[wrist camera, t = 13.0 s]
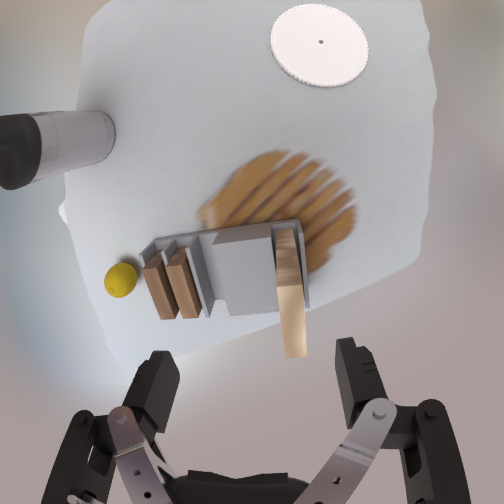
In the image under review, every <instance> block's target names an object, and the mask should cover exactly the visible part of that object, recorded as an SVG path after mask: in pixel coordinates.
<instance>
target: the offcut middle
mask: <svg viewBox="0 0 504 504" xmlns="http://www.w3.org/2000/svg"><path fill="white" fill-rule="evenodd" d="M186 247H187V246H183V247H180V248H179V249H178V250H177V252H176V253H175V254H174V255H173V257H172V258H171V259H170V261H169V262H168V264H167V265H166V266H165V268H166V271H167V275H168V278H169V281H170V283H171V286H172V289H173V292H174V295H175V298H176V301H177V304H178V306H179V309H180V312H181V314H182V317H183V319H187V318H198V317H199V314H200V312H201V309H202V304H201V300H200V297H199V294H198V291H197V287H196V284H195V281H194V277H193V274H192V271H191V267H190V264H189V260H188V257H187V253H186V250H185V248H186Z"/></svg>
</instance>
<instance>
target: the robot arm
mask: <svg viewBox="0 0 504 504" xmlns="http://www.w3.org/2000/svg"><path fill="white" fill-rule="evenodd" d="M114 140H115V130H114V125H113V123H112V121H111V119H110V118H109V117H108V115H106V114H105V113H103V112H98V111H55V112H38V113H26V114H15V115H4V116H0V186H1V187H2V188H4V189H7V190H15V189H18V188H20V187H23V186H25V185H28V184H31V183H33V182H36V181H39V180H42V179H44V178H47V177H50V176H54V175H57V174H60V173H63V172H66V171H70V170H73V169H76V168H80V167H84V166H87V165H91V164H95V163H98V162H100V161H102V160H103V159H105V158H106V157H107V156H108V154H109V153H110V151H111V149H112V147H113V144H114ZM335 370H336V375H337V380H338V384H339V388H340V394H341V399H342V404H343V409H344V414H345V419H346V424H347V429H351V431H350V432H349V434H348V436H347V437H346V438H345V440H344V441H343V443H342V444H341V445H339V446H338V447H337V449H336V450H335V451H334V453H333V454H332V456H331V457H330V458H329V460H328V461H327V463H326V464H325V465H324V466H323V468H322V469H321V470H320V472H319V473H318V474H317V476H316V477H315V478H314V480H313V481H312V482H311V483H310V484H309V483H307V482H305V481H302V480H299V479H295V478H290V477H288V473H272V474H259V475H255V476H250V477H245V478H239V479H233V478H229V477H225V476H222V475H218V474H215V473H212V472H203V471H193V470H188V475H185V476H180V477H178V476H177V474H176V473H175V472H174V471H173V469H172V468H171V467H170V465H169V463H168V461H167V460H166V458H165V456H164V454H163V452H162V450H161V448H160V446H159V444H158V442H157V440H156V438H155V434H156V432H158V433H164V432H165V428H166V425H167V422H168V418H169V415H170V411H171V408H172V405H173V401H174V397H175V395H176V391H177V388H178V384H179V381H180V374H179V371H178V368H177V366H176V364H175V362H174V360H173V358H172V356H171V354H170V352H169V351H153V352H152V354H151V357H150V359H149V360H145V361H144V362H143V363H142V364H141V365H140V366H139V368H138V370H137V372H136V374H135V377H134V379H133V383H132V384H131V386H130V388H129V390H128V392H127V395H126V397H125V399H124V402H123V404H122V406H119V407H116V408H114V409H113V410H112V411H111V412H110V413H109V415H102V416H94V415H93V414H92V413H91V412H90V411H88V410H81V411H79V412H77V413H76V414H75V415H74V416H73V418H72V420H71V423H70V425H69V427H68V430H67V433H66V435H65V437H64V440H63V442H62V444H61V447H60V450H59V452H58V455H57V457H56V460H55V463H54V466H53V468H52V471H51V474H50V477H49V479H48V483H47V485H46V489H45V492H44V495H43V498H42V502H41V504H106V503H107V499H108V495H109V491H110V487H111V483H112V479H113V474H114V471H115V467H116V464H117V467H118V470H119V472H120V475H121V477H122V480H123V482H124V485H125V487H126V489H127V491H128V494H129V496H130V499H131V501H132V503H133V504H345V503H346V502H347V500H348V499H349V498H350V496H351V495H352V493H353V492H354V490H355V489H356V487H357V486H358V484H359V483H360V481H361V480H362V478H363V476H364V475H365V473H366V472H367V470H368V469H369V467H370V465H371V463H372V462H373V460H374V458H375V456H376V454H377V453H378V451H379V449H399V450H400V455H401V461H402V467H403V473H404V480H405V486H406V494H407V502H408V504H471V500H470V495H469V490H468V485H467V480H466V476H465V472H464V468H463V463H462V460H461V456H460V453H459V449H458V445H457V442H456V439H455V436H454V432H453V429H452V426H451V423H450V420H449V417H448V414H447V411H446V409H445V406H444V405H443V404H442V403H441V402H440V401H438V400H435V399H428V400H425V401H423V402H421V403H420V404H419V405H418V406H417V407H415V406H412V407H411V406H409V407H408V406H398V405H396V404H394V403H393V402H392V401H390V400H389V399H388V397H387V395H386V392H385V389H384V386H383V383H382V380H381V378H380V375H379V372H378V370H377V367H376V364H375V361H374V358H373V356H372V353H371V352H370V351H369V350H368V349H367V348H366V347H365V346H361V347H356V345H355V342H354V339H353V338H352V337H349V338H343V339H337V341H336V355H335ZM92 446H93V450H92V453H91V456H90V459H89V462H88V457H89V454H90V451H91V448H92Z"/></svg>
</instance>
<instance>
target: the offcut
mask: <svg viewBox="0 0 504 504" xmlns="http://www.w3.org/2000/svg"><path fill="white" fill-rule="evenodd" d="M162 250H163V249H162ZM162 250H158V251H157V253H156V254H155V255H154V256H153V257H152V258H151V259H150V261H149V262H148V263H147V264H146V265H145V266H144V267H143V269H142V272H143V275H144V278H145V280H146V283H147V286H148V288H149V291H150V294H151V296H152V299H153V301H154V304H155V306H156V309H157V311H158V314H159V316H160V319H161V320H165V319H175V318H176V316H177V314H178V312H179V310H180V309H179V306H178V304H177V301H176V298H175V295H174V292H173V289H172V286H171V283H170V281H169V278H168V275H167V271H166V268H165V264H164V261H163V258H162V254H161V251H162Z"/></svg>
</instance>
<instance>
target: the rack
mask: <svg viewBox="0 0 504 504" xmlns="http://www.w3.org/2000/svg"><path fill="white" fill-rule="evenodd" d="M284 229H293V234H294V239H295V245H296V250H297V256H298V262H299V267H300V273H301V279H302V286H303V294H304V300H305V307H306V308H310V305H309V291H308V279H307V267H306V256H305V246H304V236H303V231H302V227H301V224H300V220H299V218H296V219H288V220H281V221H273V222H265V223H258V224H251V225H244V226H236V227H229V228H223V229H216V230H209V231H202V232H196V233H189V234H183V235H177V236H170V237H164V238H158V239H154V240H153V241H152V242H151V243H150V244H149V245H148V246H147V247H146V248H145V249H144V250H143V251H142V252H141V253H140V254H139V258H140V261H141V264H142V267H144V266H145V265H146V264H147V263H148V262H149V261H150V259H151V258H152V257H153V256H154V255H155V254H156V253H157V251H158V250H162V249H163V250H162V251H161V254H162V258H163V261H164V264H165V266H166V265H167V264H168V262H169V261H170V259H171V258H172V257H173V255H174V254H175V253H176V252H177V250H178V249H179V248H180V247H183V246H187V247H186V248H185V250H186V253H187V257H188V260H189V264H190V267H191V271H192V274H193V277H194V281H195V284H196V287H197V291H198V294H199V297H200V300H201V304H202V307H203V310H204V313H205V316H206V318H207V317H210V314H211V311H212V308H213V305H214V302H215V300H219V299H225V300H226V304H227V308H228V311H229V315H230V316H235V315H247V314H258V313H269V312H278V311H280V309H279V302H278V294H277V278H276V230H284ZM165 320H166V319H165Z"/></svg>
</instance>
